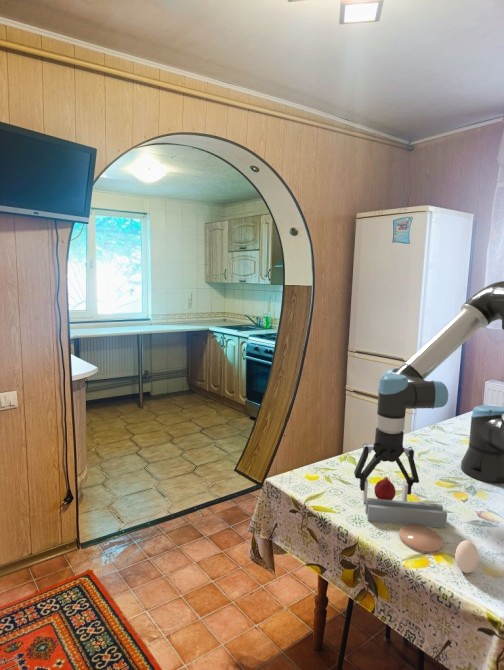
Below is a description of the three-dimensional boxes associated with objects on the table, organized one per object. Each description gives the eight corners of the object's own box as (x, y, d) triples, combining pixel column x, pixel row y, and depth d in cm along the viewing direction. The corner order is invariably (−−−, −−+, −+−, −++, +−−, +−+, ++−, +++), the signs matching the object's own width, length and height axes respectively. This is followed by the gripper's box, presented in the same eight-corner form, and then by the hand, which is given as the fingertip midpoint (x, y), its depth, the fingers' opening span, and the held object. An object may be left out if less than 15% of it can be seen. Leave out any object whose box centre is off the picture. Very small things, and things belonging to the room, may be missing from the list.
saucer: (435, 530, 112) (435, 526, 112) (448, 554, 102) (448, 550, 102) (395, 526, 113) (396, 522, 113) (404, 550, 103) (404, 546, 103)
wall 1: (440, 517, 118) (441, 504, 117) (441, 520, 116) (442, 506, 116) (365, 511, 120) (366, 497, 119) (365, 513, 119) (366, 500, 118)
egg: (469, 564, 99) (473, 534, 98) (481, 578, 94) (484, 547, 93) (450, 564, 99) (453, 534, 98) (460, 578, 94) (463, 547, 93)
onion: (395, 509, 121) (397, 483, 120) (374, 507, 122) (376, 480, 121) (393, 499, 127) (395, 473, 126) (372, 496, 128) (374, 471, 127)
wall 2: (444, 525, 114) (445, 511, 114) (445, 527, 113) (447, 513, 112) (367, 518, 117) (368, 504, 116) (367, 520, 115) (368, 506, 115)
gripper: (428, 427, 124) (421, 499, 127) (347, 421, 126) (342, 492, 129) (436, 436, 116) (428, 513, 119) (349, 430, 119) (345, 505, 122)
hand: (384, 502), depth 124 cm, fingers open, 10 cm apart
